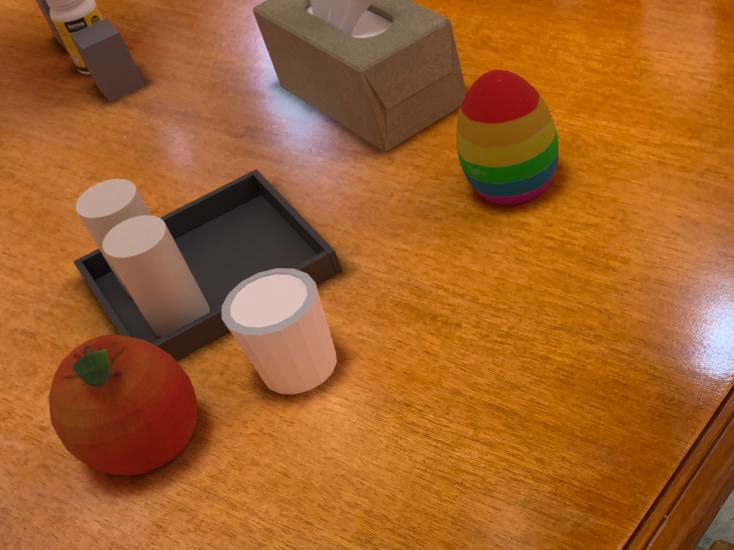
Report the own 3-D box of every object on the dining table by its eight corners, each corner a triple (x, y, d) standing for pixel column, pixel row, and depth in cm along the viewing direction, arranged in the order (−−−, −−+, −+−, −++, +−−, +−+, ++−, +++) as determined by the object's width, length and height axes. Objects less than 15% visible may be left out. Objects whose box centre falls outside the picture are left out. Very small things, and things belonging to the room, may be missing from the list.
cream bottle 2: (164, 348, 80) (114, 266, 73) (142, 317, 82) (93, 235, 76) (219, 318, 81) (175, 235, 74) (196, 289, 83) (152, 206, 77)
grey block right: (111, 105, 104) (81, 48, 99) (99, 90, 106) (69, 34, 102) (147, 89, 105) (119, 31, 100) (134, 74, 107) (106, 17, 103)
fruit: (194, 378, 78) (133, 274, 70) (232, 457, 73) (170, 354, 65) (75, 434, 76) (-2, 334, 68) (104, 519, 71) (24, 421, 63)
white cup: (239, 377, 77) (201, 307, 72) (310, 326, 80) (279, 253, 74) (292, 419, 74) (256, 348, 68) (365, 364, 76) (336, 291, 70)
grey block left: (69, 56, 112) (40, 1, 107) (58, 43, 114) (29, -12, 109) (103, 40, 113) (75, -15, 108) (91, 28, 115) (64, -27, 110)
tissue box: (472, 105, 94) (432, -78, 82) (388, 157, 91) (333, -24, 79) (359, 43, 104) (307, -129, 92) (279, 88, 101) (215, -83, 89)
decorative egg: (491, 230, 83) (465, 118, 75) (453, 181, 88) (425, 70, 80) (580, 192, 84) (565, 78, 76) (538, 145, 89) (519, 33, 81)
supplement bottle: (90, 82, 108) (47, 2, 101) (72, 68, 110) (29, -12, 103) (130, 62, 109) (90, -19, 102) (111, 48, 112) (72, -32, 105)
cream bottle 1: (136, 307, 83) (86, 226, 77) (116, 279, 86) (67, 198, 79) (189, 279, 84) (144, 197, 78) (168, 252, 87) (123, 170, 81)
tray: (150, 381, 79) (135, 357, 76) (88, 285, 87) (72, 261, 85) (344, 276, 83) (334, 250, 80) (267, 194, 91) (256, 168, 89)
